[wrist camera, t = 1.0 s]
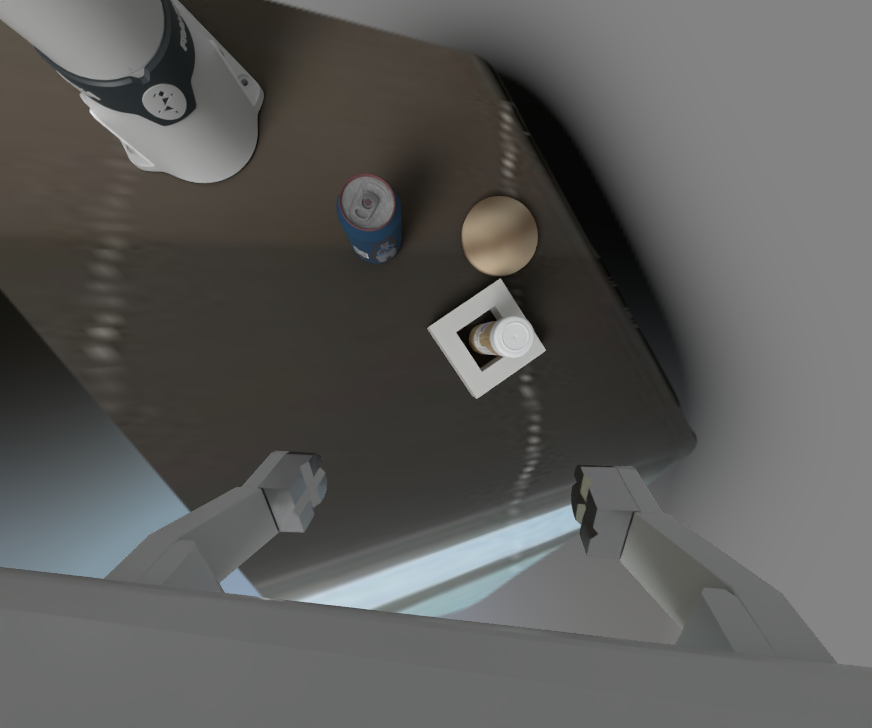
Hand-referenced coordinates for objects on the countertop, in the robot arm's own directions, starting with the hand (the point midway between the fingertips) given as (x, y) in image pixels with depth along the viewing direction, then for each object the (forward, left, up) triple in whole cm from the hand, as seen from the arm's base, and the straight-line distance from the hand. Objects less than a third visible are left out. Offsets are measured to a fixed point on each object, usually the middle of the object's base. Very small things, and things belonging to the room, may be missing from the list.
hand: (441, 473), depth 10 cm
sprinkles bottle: (+2, +12, -36) cm, 38 cm away
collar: (+2, +12, -36) cm, 38 cm away
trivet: (-9, +22, -36) cm, 43 cm away
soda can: (-18, +7, -36) cm, 41 cm away
